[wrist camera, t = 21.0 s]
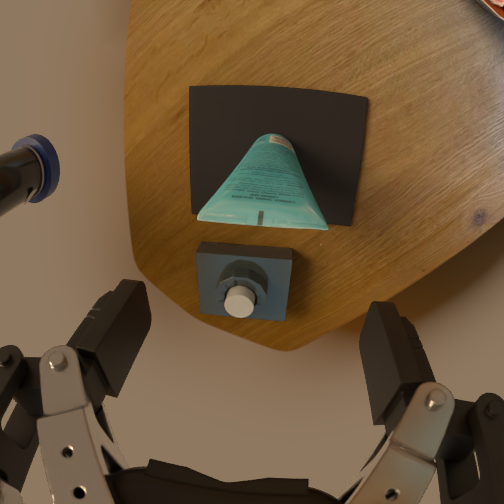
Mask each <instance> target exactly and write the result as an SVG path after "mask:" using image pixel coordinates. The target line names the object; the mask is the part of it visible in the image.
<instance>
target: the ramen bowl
mask: <svg viewBox="0 0 504 504" xmlns="http://www.w3.org/2000/svg"><path fill="white" fill-rule="evenodd" d="M476 1H477V2H478V3H479V4H480V5H481V6H482V7H483V8H484V9H485V10H487V11H488V12H490V13H491V14H492V15H494V16H496V17H498V18H499V19H501V20H503V21H504V0H476Z"/></svg>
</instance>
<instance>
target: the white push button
mask: <svg viewBox="0 0 504 504" xmlns="http://www.w3.org/2000/svg"><path fill="white" fill-rule="evenodd" d="M254 303H255V294H254V292H253V291H252V290H251V289H250V288H248V287H246V286H243V285H237V286H233V287H232V288H230V289H229V290H228V292H227V296H226V299H225V303H224V306H225V309H226V311H227V312H228V313H229V314H230V315H232V316H234V317H238V318H243V317H247V316H249V315H250V314H251V313H252V312H253V310H254Z"/></svg>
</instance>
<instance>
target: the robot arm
mask: <svg viewBox="0 0 504 504" xmlns="http://www.w3.org/2000/svg"><path fill="white" fill-rule="evenodd" d="M45 180H46V170H45V165H44V161H43V159H42V156H41V155H40V153H39V152H38V150H37V149H36V148H34V147H33V146H31V145H22V146H19V147H18V148H16V149H13V150H11V151H8V152H6V153H3V154H1V155H0V217H2V216H3V215H5V214H6V213H8V212H9V211H11V210H13V209H14V208H16V207H17V206H19V205H21V204H22V203H24V202H25V203H27V202H28V201H29V200H30V199H31V198H33V197H35V196H37V195H38V194H39V193H40V192H41V191H42V190H43V188H44V185H45ZM25 203H24V204H25ZM150 326H151V311H150V307H149V301H148V297H147V292H146V287H145V284H144V282H143V281H136V280H127V279H123V280H122V281H121V282H120V283H119V285H118V286H117V287H116V289H115V290H114V291H109V292H107V293H106V294H105V295H103V296H102V297H100V298H99V299H98V301H97V302H96V303H95V305H94V306H93V307H92V310H90V312H89V313H88V314H87V317H86V318H84V320H83V321H82V323H81V324H80V325H79V327H78V328H77V330H76V331H75V333H74V334H73V336H72V337H71V338H70V340H69V341H68V343H67V344H66V346H63V345H62V346H56V347H53V348H51V349H49V350H48V351H47V352H46V353H45V354H44V355H43V356H42V357H24V356H23V354H22V352H21V351H20V349H19V348H18V347H17V346H14V345H7V346H4V347H2V348H0V504H24V503H23V500H22V497H21V495H20V493H21V490H22V487H23V484H24V482H25V479H26V476H27V473H28V471H29V468H30V465H31V463H32V460H33V457H34V455H35V453H36V450H37V447H38V445H39V443H40V448H41V454H42V459H43V464H44V468H45V473H46V477H47V481H48V485H49V489H50V493H51V497H52V500H53V503H54V504H419V502H420V501H421V499H422V497H423V495H424V493H425V491H426V489H427V488H428V485H429V484H430V482H431V480H432V478H433V475H434V473H435V471H436V468H437V474H438V482H439V491H440V500H441V504H504V400H503V399H502V398H501V397H500V396H498V395H496V394H494V393H485V394H483V395H481V396H480V397H479V399H478V400H477V401H476V402H469V401H463V400H458V399H454V397H453V395H452V393H451V391H450V390H449V389H448V388H446V387H445V386H444V385H442V384H440V383H437V382H436V380H435V378H434V375H433V372H432V369H431V367H430V364H429V361H428V359H427V356H426V354H425V351H424V349H423V346H422V343H421V341H420V340H419V336H418V334H417V332H416V329H415V327H414V325H413V324H412V323H411V322H410V321H409V320H408V319H407V318H406V317H400V316H399V313H398V311H397V308H396V306H395V304H394V303H393V302H379V301H373V302H372V303H371V305H370V308H369V311H368V314H367V317H366V320H365V323H364V325H363V328H362V331H361V334H360V341H359V348H360V354H361V358H362V364H363V368H364V374H365V379H366V384H367V389H368V395H369V401H370V406H371V412H372V419H373V425H385V429H386V432H385V433H384V435H383V436H382V438H381V439H380V441H379V442H378V444H377V445H376V447H375V448H374V450H373V451H372V453H371V454H370V456H369V457H368V459H367V460H366V462H365V463H364V464H363V466H362V467H361V469H360V470H359V471H358V473H357V474H356V475H355V477H354V478H353V479H352V480H351V482H349V484H348V485H347V486H346V487H345V488H344V490H343V491H342V492H341V493H340V494H339V495H338V497H337V498H335V497H333V496H332V495H330V494H328V493H326V492H323V491H321V490H318V489H315V488H311V487H308V479H288V478H263V479H256V480H248V481H239V482H230V483H229V482H222V481H219V480H217V479H214V478H212V477H209V476H206V475H204V474H202V473H199V472H197V471H195V470H192V469H190V468H188V467H184V466H179V465H175V464H170V463H166V462H161V461H157V460H153V459H150V460H149V463H148V466H147V467H144V466H143V467H134V468H129V466H128V464H127V462H126V460H125V458H124V457H123V455H122V453H121V451H120V449H119V447H118V444H117V442H116V439H115V436H114V433H113V431H112V427H111V424H110V421H109V418H108V415H107V412H106V409H105V405H104V403H103V400H104V398H105V395H109V396H112V397H116V398H117V397H118V395H119V393H120V391H121V388H122V386H123V384H124V382H125V380H126V377H127V375H128V373H129V371H130V369H131V367H132V364H133V362H134V360H135V358H136V356H137V354H138V352H139V350H140V348H141V346H142V344H143V341H144V339H145V338H146V336H147V334H148V332H149V329H150ZM12 398H13V399H14V400H15V402H17V404H16V406H15V408H14V410H13V412H12V414H11V416H10V418H9V420H8V422H7V424H6V426H5V428H4V430H2V427H1V420H2V417H3V415H4V413H5V411H6V410H7V408H8V406H9V404H10V402H11V400H12ZM475 451H476V456H477V461H478V466H479V471H480V480H479V477H478V471H477V466H476V461H475V456H474V452H475ZM434 459H435V460H436V463H435V462H434Z"/></svg>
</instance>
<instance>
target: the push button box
mask: <svg viewBox="0 0 504 504" xmlns="http://www.w3.org/2000/svg"><path fill="white" fill-rule="evenodd" d="M292 261H293V256H292V248H281V247H268V246H255V245H242V244H229V243H216V242H202V241H201V243H200V245H199V247H198V249H197V251H196V265H197V278H198V291H199V303H200V313H203V314H212V315H221V316H230V317H234V316H232V315H230V314H229V313H228V312H227V311H226V309H225V306H224V303H225V299H226V296H227V292H228V290H229V289H230V288H232V287H233V286H237V285H243V286H246V287H248V288H250V289H251V290H252V291H253V292H254V294H255V303H254V310H253V312H252V313H251V314H250V315H249V316H247V317H243V318H251V319H262V320H275V321H285V316H286V309H287V301H288V294H289V286H290V278H291V270H292Z"/></svg>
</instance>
